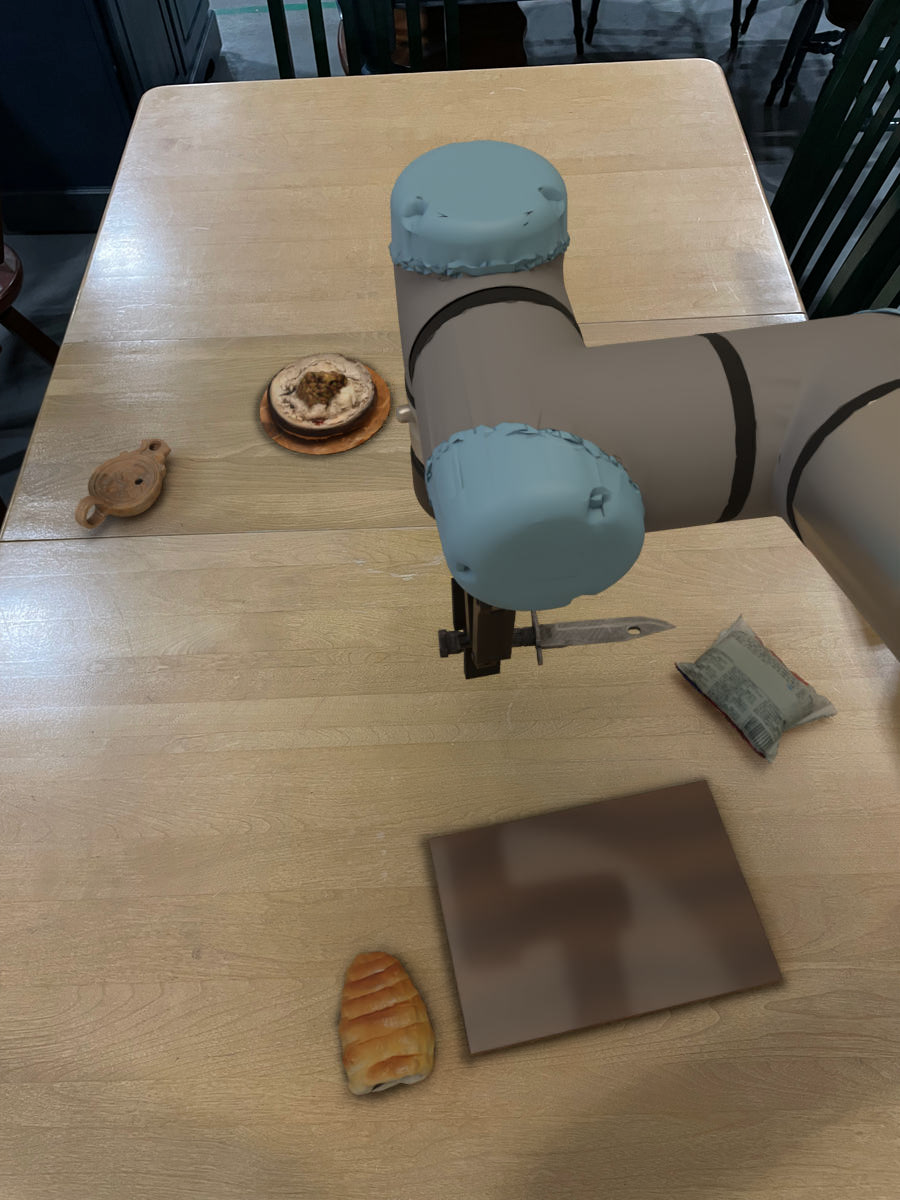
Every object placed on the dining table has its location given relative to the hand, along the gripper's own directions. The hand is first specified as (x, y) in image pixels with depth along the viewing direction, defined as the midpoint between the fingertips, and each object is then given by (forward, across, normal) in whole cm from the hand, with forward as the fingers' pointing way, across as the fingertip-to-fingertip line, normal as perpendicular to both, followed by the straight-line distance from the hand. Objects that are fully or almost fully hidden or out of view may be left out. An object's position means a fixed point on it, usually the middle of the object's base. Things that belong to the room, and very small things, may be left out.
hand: (475, 647), depth 67 cm
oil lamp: (+12, -32, -31) cm, 46 cm away
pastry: (+12, +24, -12) cm, 30 cm away
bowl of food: (+12, -41, -9) cm, 44 cm away
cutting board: (+12, +19, +6) cm, 23 cm away
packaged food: (+12, +3, +25) cm, 28 cm away
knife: (+1, +1, +6) cm, 6 cm away
